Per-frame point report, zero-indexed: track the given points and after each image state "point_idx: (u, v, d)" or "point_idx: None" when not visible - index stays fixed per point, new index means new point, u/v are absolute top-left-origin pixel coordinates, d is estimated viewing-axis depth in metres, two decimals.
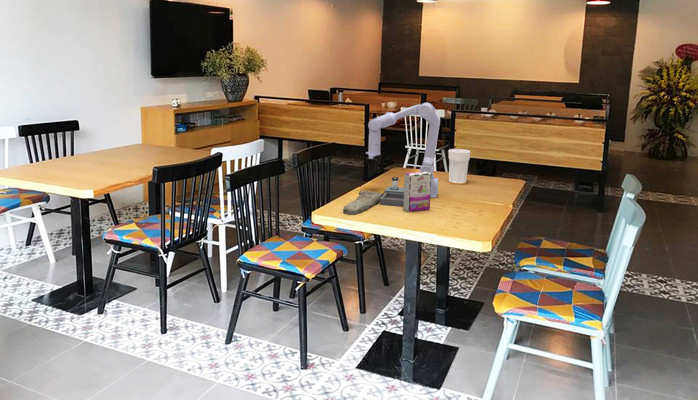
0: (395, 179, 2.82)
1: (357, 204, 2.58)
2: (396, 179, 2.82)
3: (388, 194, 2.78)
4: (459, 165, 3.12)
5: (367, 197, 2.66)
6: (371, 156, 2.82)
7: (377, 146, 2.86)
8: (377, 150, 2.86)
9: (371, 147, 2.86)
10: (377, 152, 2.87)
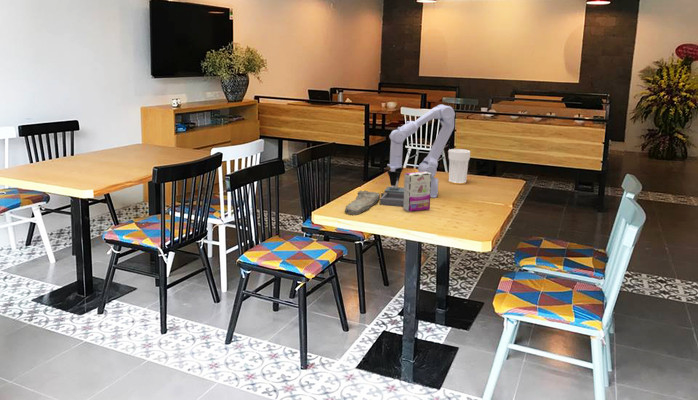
0: None
1: (358, 204, 2.57)
2: None
3: (388, 194, 2.78)
4: (459, 165, 3.12)
5: (366, 197, 2.66)
6: (393, 169, 2.75)
7: (399, 158, 2.78)
8: (399, 162, 2.79)
9: (393, 159, 2.78)
10: (399, 164, 2.79)
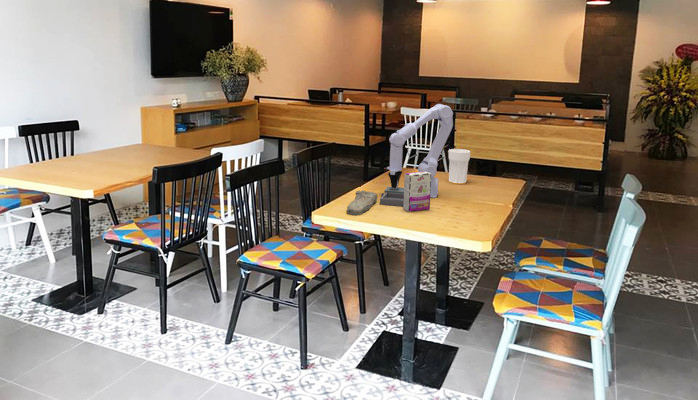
0: None
1: (359, 204, 2.57)
2: None
3: (388, 194, 2.78)
4: (459, 165, 3.12)
5: (366, 197, 2.66)
6: (393, 172, 2.75)
7: (399, 161, 2.79)
8: (399, 165, 2.79)
9: (393, 162, 2.79)
10: (399, 167, 2.79)
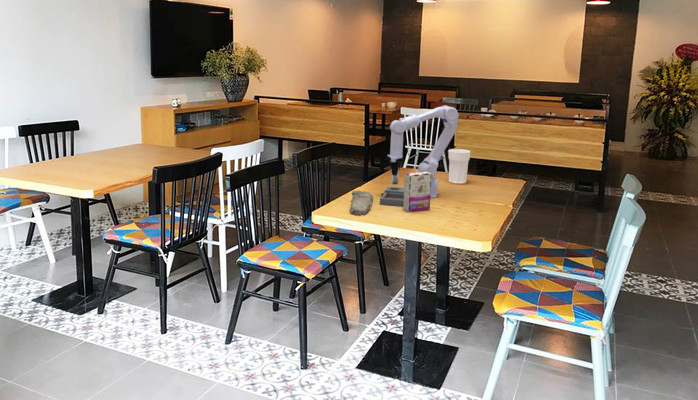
0: None
1: (360, 204, 2.57)
2: None
3: (388, 194, 2.78)
4: (459, 165, 3.12)
5: (364, 197, 2.66)
6: (394, 159, 2.74)
7: (399, 149, 2.77)
8: (399, 153, 2.78)
9: (393, 150, 2.77)
10: (399, 155, 2.78)
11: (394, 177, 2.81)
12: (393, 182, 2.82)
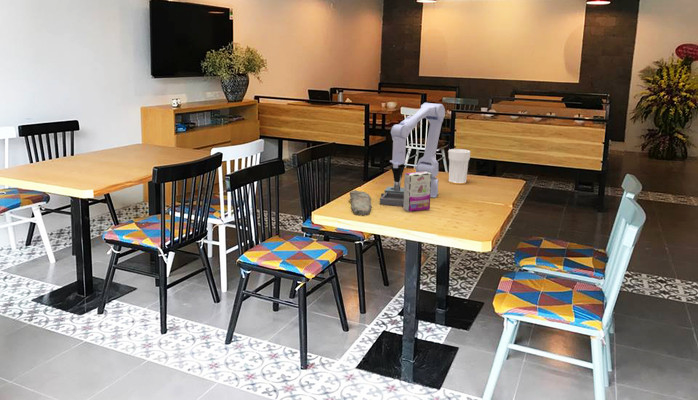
0: None
1: (362, 204, 2.57)
2: None
3: (388, 194, 2.78)
4: (459, 165, 3.12)
5: (363, 197, 2.66)
6: (396, 165, 2.61)
7: (402, 154, 2.65)
8: (402, 158, 2.65)
9: (396, 155, 2.65)
10: (402, 161, 2.65)
11: (396, 184, 2.69)
12: (395, 189, 2.70)
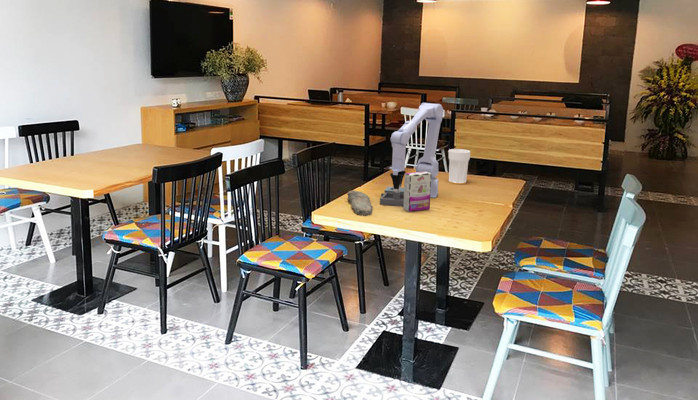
0: None
1: (362, 204, 2.57)
2: None
3: (388, 194, 2.78)
4: (459, 165, 3.12)
5: (362, 196, 2.66)
6: (396, 172, 2.62)
7: (402, 161, 2.65)
8: (402, 165, 2.66)
9: (395, 162, 2.65)
10: (402, 167, 2.66)
11: (395, 194, 2.70)
12: None
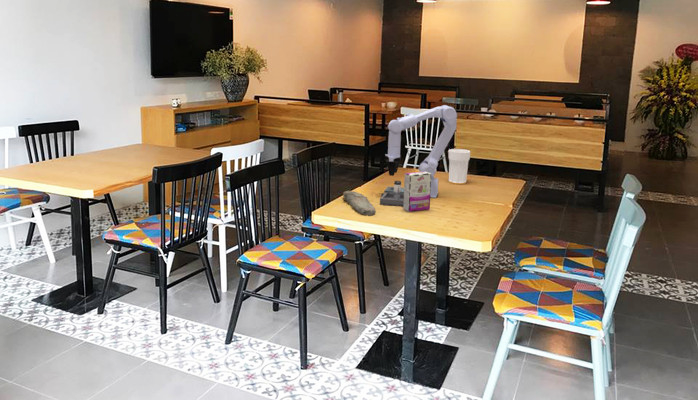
0: (398, 183, 2.69)
1: (364, 204, 2.57)
2: (399, 183, 2.69)
3: (388, 194, 2.78)
4: (459, 165, 3.12)
5: (360, 196, 2.66)
6: (391, 158, 2.75)
7: (397, 148, 2.78)
8: (397, 152, 2.79)
9: (391, 149, 2.79)
10: (397, 154, 2.79)
11: (396, 194, 2.70)
12: None
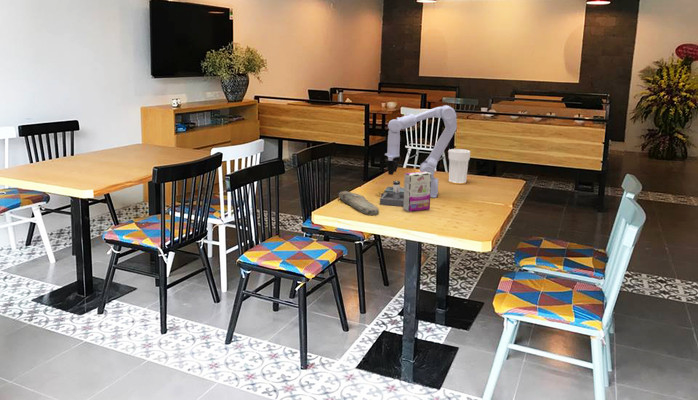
0: (396, 183, 2.69)
1: (366, 204, 2.58)
2: (397, 183, 2.69)
3: (388, 194, 2.78)
4: (459, 165, 3.12)
5: (359, 196, 2.66)
6: (391, 158, 2.77)
7: (396, 147, 2.80)
8: (396, 152, 2.81)
9: (390, 148, 2.81)
10: (396, 154, 2.81)
11: (395, 194, 2.70)
12: None
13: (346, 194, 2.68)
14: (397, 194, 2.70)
